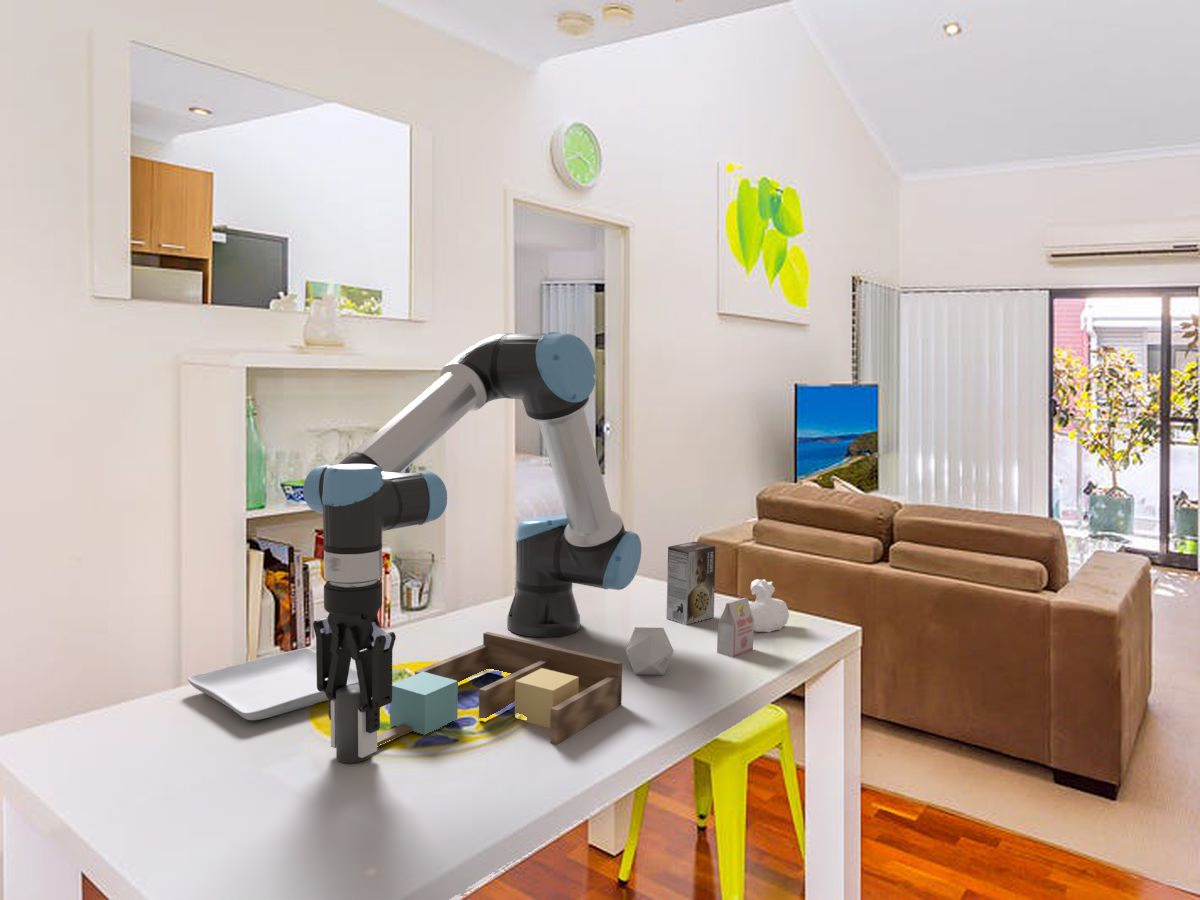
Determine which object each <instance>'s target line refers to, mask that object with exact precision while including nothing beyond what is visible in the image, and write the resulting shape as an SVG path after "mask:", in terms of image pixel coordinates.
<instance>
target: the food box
mask: <svg viewBox="0 0 1200 900" xmlns="http://www.w3.org/2000/svg"><path fill="white" fill-rule="evenodd" d="M715 573H716V546H715V545H710V544H707V543H705V542H699V541H691V542H685V543H678V544H675V545H670V546H667V580H666V581H667V583H666V584H667V585H666V586H667V590H666V615H665V616H666V620H669V619H670V620H669V621H672V620H674V621H673V622H675V621H677V622H676V623H679V622H680V623H679V624H682V623H684V624H683V625H685V624H689V625H692V624H695V623H694V622H696V623H698V621H699V622H702V621H705V619H706V620H709V619H711V618H712V619H713V618H714V617H715V585H716V584H715V582H716V578H715V577H716V575H715ZM701 620H702V621H701ZM691 623H692V624H691Z"/></svg>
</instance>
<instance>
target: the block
mask: <svg viewBox="0 0 1200 900" xmlns="http://www.w3.org/2000/svg"><path fill="white" fill-rule="evenodd" d="M578 686H579V677H577V676H573V675H568V674H564V673H560V672H556V671H552V670H548V669H543V668H541V669H539V670H537V671H535V672H533V673H531V674H529V675H526V676H524V677H522V678H520V679H518V680H516V681H515V708H514V714H515V713H519V714H523V715H524V716H526V717H527V720H526V722H527V723H529V724H534V725H535V726H540V727H544V728H547V729H550V717H551V708H552V707H554V706H556V705H558V704H560V703H562V702H563V701H565V700H567V699H569V698H571V697H572V696H574V695H576V694H578Z"/></svg>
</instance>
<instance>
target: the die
mask: <svg viewBox="0 0 1200 900" xmlns="http://www.w3.org/2000/svg"><path fill="white" fill-rule="evenodd" d="M674 652H675V650H674V648H673V646H672V644H671V642H670V640H669V637H668V635H667V633H666V631H665V629H664V627H643V626H642V627H638V626H636V627H634V630H633V632H632V634H631V637H630V639H629V642H628V644H627V647H626V649H625V653H626V656H627V658H628V660H629V661H628V662H629V663H630V665H631V668H632V671H633V673H634V675H635V676H636V675H638V676H640V675H641V676H646V675H647V676H648V675H649V676H665V673H666V670H667V668H668V665H669V663H670V661H671V659H672V656H673V654H674Z"/></svg>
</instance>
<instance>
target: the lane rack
mask: <svg viewBox="0 0 1200 900" xmlns="http://www.w3.org/2000/svg"><path fill="white" fill-rule="evenodd" d="M482 636H483V637H482V639H483V641H482V644H481V645H478V646H476V647H472V648H471V649H468V650H466V651H463V652H460V653H458V654H455V655H453V656H451V657H448V658H445V659H443V660H441V661H438V662H435V663H433V664H430V665H428V666H427V665H426V667H423V668H420V669H418V670H415V671H414V675H416V674H419V673H421V672H427V673H430V674H434V675H438V676H441V677H445V678H449V679H452V680H456V681H458V682H460V681H462V680H464V679H466V678H468V677H470V676H472V675H474V674H477V673H479V672H481V671H484V670H486V669H494V670H499V671H503V672H507V673H511V674H510V675H508V676H506V677H501V678H500V679H497V680H496V681H494V682H492V683H488V684H486V685H485V686H482V687H480V688H479V689H478V719H479V718H487V717H489V716H490V715H492V714H494V713H496V712H498V711H500V710H501V709H503V708H505V707H506V706H508V705H509V704H511V703H513V702H514V701H515V681H516V680H518V679H520V678H522V677H524V676H526V675H529V674H531V673H533V672H535V671H537V670H539V669H541V668H543V669H548V670H552V671H556V672H560V673H564V674H568V675H573V676H577V677H579V686H578V694H576V695H574V696H572V697H571V698H569V699H567V700H565V701H563V702H562V703H560V704H558V705H556V706H554V707H552V708H551V717H550V728H549V729H550V730H549V731H550V732H549V734H550V736H549V737H550V738H549V741H550V744H554V745H559V744H560V743H562V742H563V741H565V740H567V739H568V738H570V737H572V736H574V735H575V734H576V733H578V732H579V731H582V729H584V728H586V727H588V726H589V725H591V724H592V723H594V722H595V721H597V720H598V719H601V718H602V717H603V716H605V715H607V714H609V713H611V712H612V711H613V710H615V709H616V708H618V707H620V706H622V695H623V694H622V693H623V690H622V689H623V661H619V660H615V659H610V658H606V657H602V656H597V655H593V654H589V653H584V652H579V651H575V650H571V649H568V648H567V649H566V648H561V647H557V646H554V645H550V644H545V643H540V642H535V641H532V640H531V641H530V640H527V639H522V638H517V637H513V636H509V635H504V634H501V633H500V634H499V633H495V632H492V631H491V632H490V631H486V632H484V633H483V634H482Z"/></svg>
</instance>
